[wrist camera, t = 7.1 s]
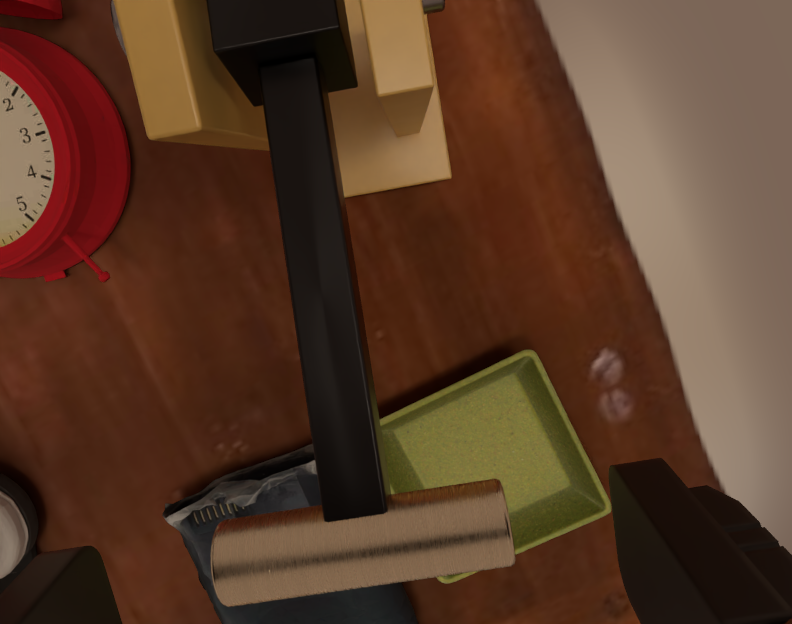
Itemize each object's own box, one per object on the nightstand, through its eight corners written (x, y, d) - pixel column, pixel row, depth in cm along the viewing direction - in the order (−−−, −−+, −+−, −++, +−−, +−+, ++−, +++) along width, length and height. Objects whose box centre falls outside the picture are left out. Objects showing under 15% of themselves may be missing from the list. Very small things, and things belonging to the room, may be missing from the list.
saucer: (439, 562, 33) (441, 589, 31) (356, 415, 31) (353, 432, 29) (602, 489, 32) (615, 512, 30) (525, 333, 30) (533, 345, 28)
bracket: (450, 177, 29) (512, 199, 11) (293, 206, 29) (121, 268, 12) (417, -32, 27) (431, -387, 10) (250, 1, 27) (-27, -281, 10)
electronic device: (171, 485, 34) (281, 748, 35) (134, 524, 28) (266, 836, 29) (342, 417, 34) (447, 679, 35) (338, 442, 29) (463, 753, 29)
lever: (508, 544, 12) (523, 586, 10) (249, 583, 13) (205, 632, 10) (404, -54, 14) (395, -143, 11) (170, -7, 14) (113, -85, 12)
